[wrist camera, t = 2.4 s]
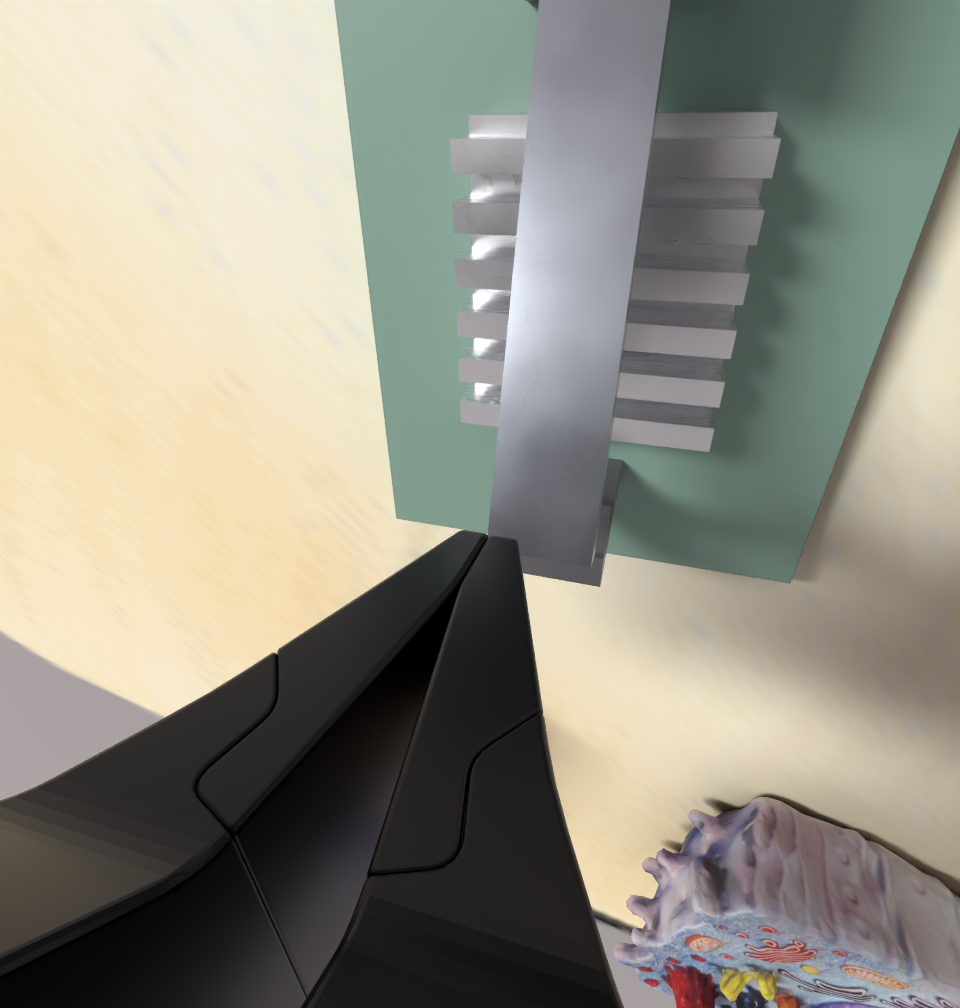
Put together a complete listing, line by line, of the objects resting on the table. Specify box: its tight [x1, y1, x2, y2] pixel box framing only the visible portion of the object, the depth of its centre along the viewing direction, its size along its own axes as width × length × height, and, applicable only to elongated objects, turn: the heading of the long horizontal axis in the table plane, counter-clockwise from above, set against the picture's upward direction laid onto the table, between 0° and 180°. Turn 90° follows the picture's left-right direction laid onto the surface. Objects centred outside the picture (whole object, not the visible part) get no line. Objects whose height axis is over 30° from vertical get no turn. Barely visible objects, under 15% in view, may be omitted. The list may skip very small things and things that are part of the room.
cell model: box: [614, 797, 960, 1008], centre depth 28 cm, size 13×11×20 cm
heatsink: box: [450, 110, 781, 452], centre depth 16 cm, size 7×8×3 cm
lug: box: [520, 458, 622, 587], centre depth 18 cm, size 2×2×5 cm
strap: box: [488, 0, 673, 567], centre depth 11 cm, size 12×3×1 cm, turn 1°
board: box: [334, 0, 960, 583], centre depth 18 cm, size 15×20×1 cm
